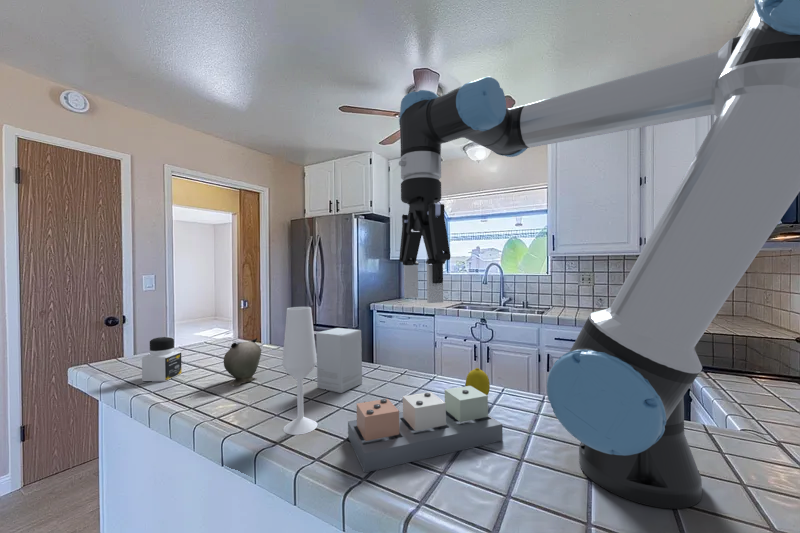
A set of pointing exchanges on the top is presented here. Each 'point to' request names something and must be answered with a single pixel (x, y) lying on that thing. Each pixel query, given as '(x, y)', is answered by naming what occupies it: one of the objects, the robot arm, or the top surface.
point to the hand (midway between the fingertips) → (422, 299)
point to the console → (422, 441)
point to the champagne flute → (299, 361)
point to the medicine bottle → (161, 360)
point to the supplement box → (339, 359)
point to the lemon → (478, 380)
